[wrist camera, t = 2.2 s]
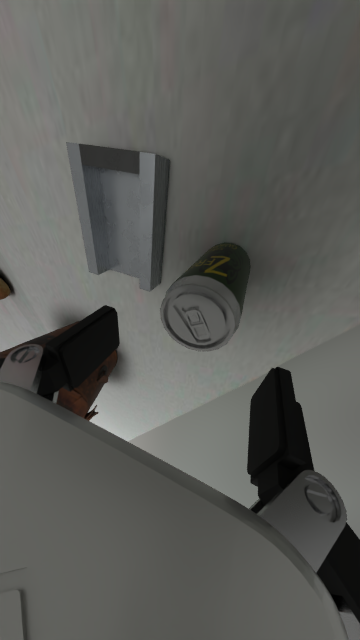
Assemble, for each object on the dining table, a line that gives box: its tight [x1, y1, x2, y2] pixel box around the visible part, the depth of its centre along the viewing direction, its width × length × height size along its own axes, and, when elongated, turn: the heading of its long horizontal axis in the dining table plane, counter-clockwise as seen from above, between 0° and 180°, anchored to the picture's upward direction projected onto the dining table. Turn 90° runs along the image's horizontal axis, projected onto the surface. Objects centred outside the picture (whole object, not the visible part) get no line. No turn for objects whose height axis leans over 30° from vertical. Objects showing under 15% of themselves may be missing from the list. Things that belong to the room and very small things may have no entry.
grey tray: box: [66, 142, 170, 291], centre depth 21 cm, size 13×10×3 cm
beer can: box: [160, 243, 250, 351], centre depth 16 cm, size 5×5×12 cm
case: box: [0, 322, 117, 421], centre depth 33 cm, size 18×20×18 cm
